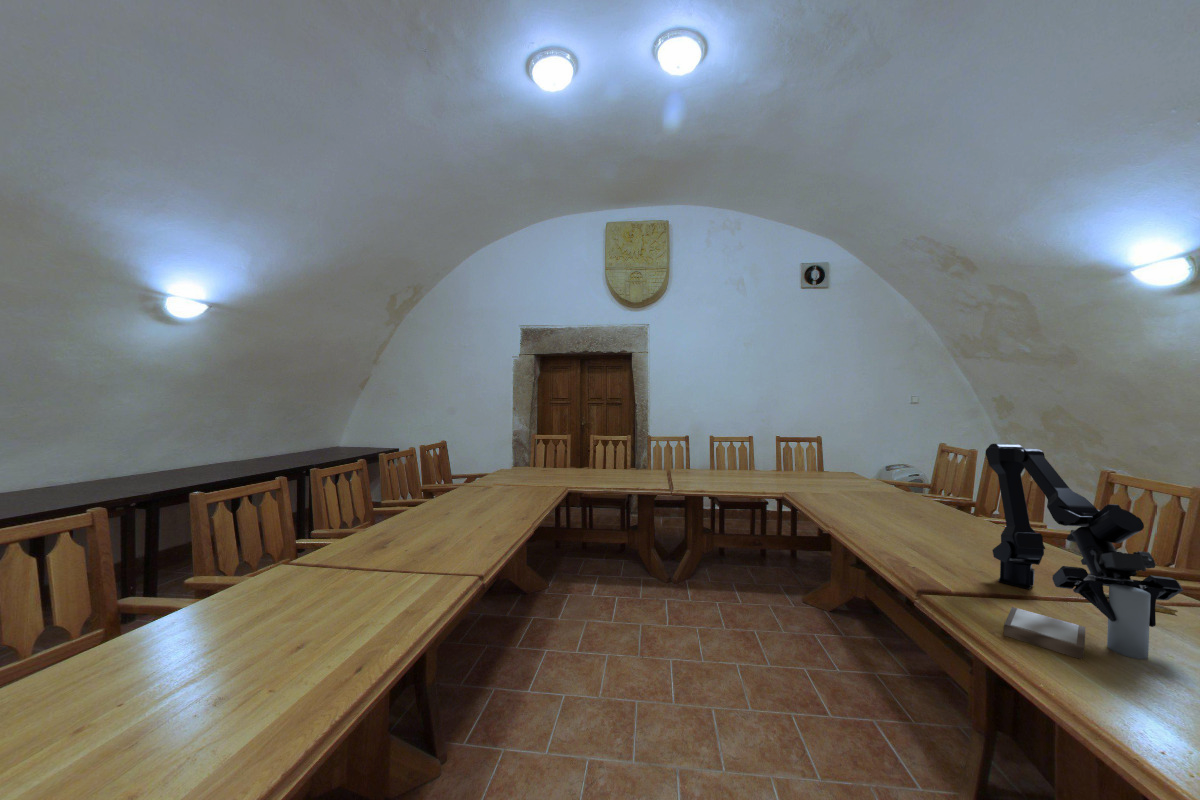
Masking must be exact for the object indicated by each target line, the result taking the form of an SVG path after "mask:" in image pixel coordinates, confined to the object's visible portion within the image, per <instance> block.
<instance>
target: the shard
mask: <svg viewBox="0 0 1200 800" xmlns="http://www.w3.org/2000/svg"><path fill="white" fill-rule="evenodd" d="M1103 591H1104V594H1105V596H1106V598H1108V597H1109V590H1103ZM1155 612H1159V613H1164V614H1165V613H1166V614H1170V615H1171V614H1173V615H1175V614H1176V613H1177V612H1179V611H1178V610H1177V609H1173V608H1171V607H1167V606H1164V605H1162V604H1159V603H1157V602H1156V604H1155Z"/></svg>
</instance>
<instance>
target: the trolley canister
mask: <svg viewBox="0 0 1200 800" xmlns="http://www.w3.org/2000/svg"><path fill="white" fill-rule="evenodd" d="M1108 591H1109V598H1108V602H1109V604H1110V606H1111V608H1112V610H1113V612H1114V614H1115V617H1116V621H1114V622H1113V621H1111V620H1110V619H1108V618H1107V636H1106V638H1107V639H1106V641H1107V642H1106V646H1108V647H1107V648H1108V649H1110V651H1112V652H1115V653H1117V654H1119V655H1122V656H1125V657H1128V658H1132V659H1137V660H1147V659H1149V652H1150V651H1149V650H1150V649H1149V647H1150V646H1149V645H1150V626H1149V624H1150V598H1151V594H1150V593H1148V592H1146V591H1144V590H1141V589H1138V588H1135V587H1131V586H1126V585H1119V584H1110V585H1109V586H1108Z"/></svg>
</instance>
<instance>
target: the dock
mask: <svg viewBox="0 0 1200 800" xmlns="http://www.w3.org/2000/svg"><path fill="white" fill-rule="evenodd" d="M1003 636H1005V637H1008V638H1011V639H1015V640H1018V641H1021V642H1024V643H1027V644H1031V645H1034V646H1037V647H1040V648H1044V649H1045V650H1050V651H1053V652H1056V653H1059V654H1063V655H1065V654H1066V655H1067V656H1068V657H1072V658H1075V657H1076V659H1078V658H1079V659H1078V660H1081V659H1082V661H1083V660H1084V654H1085V642H1086V626H1083V625H1079V624H1075V623H1072V622H1069V621H1066V620H1065V621H1064V620H1062V619H1058V618H1055V617H1050V616H1047V615H1043V614H1040V613H1036V612H1032V611H1029V610H1025V609H1021V608H1018V607H1014V606H1011V608H1010V610H1009V613H1008V615H1007V617H1006V619H1005V621H1004V624H1003Z"/></svg>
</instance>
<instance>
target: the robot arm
mask: <svg viewBox="0 0 1200 800" xmlns="http://www.w3.org/2000/svg"><path fill="white" fill-rule="evenodd" d="M985 456H986V459H987V462H988V466H989V467H990V468H991V469H992V470H993V471H994V472H995V473H996V474H997V478H998V482H999V483H998V484H999V490H1000V495H1001V502H1002V509H1003V513H1004V519H1005V525H1006V526H1005V527H1004V529H1003V531H1002V532H1001V534H1000V543H999V544H998V545H996V546H995V547H994V548H993V549H992V555H993V558H994V559H997V560H998V561H1000V564H999V565H1000V566H999V579H998V582H999V583H1001V584H1002V583H1003V584H1006V585H1010V586H1013V587H1017V588H1018V587H1019V588H1022V589H1027V590H1030V589H1031V588H1032V587H1033V586H1034V584H1035V568H1032V567H1033V565H1037V566H1040V564H1041V561H1042V559H1043V556H1044V555H1045V550H1046V546H1045V544H1044V541H1043V539H1044V537H1043V535H1042V534H1041V533H1040V532H1036V531H1035V530H1034V529H1033V528H1032V527H1031V523H1030V517H1029V512H1028V505H1027V503H1026V502H1027V501H1026V496H1025V492H1024V491H1025V489H1024V485H1023V479H1022V472H1023V471H1024V469H1025V471H1026V472H1027V473H1028V474H1029V476H1030V477H1031V478H1032V479H1033V481H1034V483H1035V484H1036V485H1037V486H1038V488H1039V489H1040V490H1041V491H1042V493H1043V494H1044V496H1045V497H1046V499H1047V504H1046V508H1047V510H1048V512H1049V514H1050V515H1051V517H1052V519H1053V521H1054V522H1056V523H1057V524H1058V525H1061V526H1064V527H1066V526H1067V527H1077V528H1076V529H1071V530H1070V532H1069V534H1067V536H1066V540H1067V541H1069V542H1075V543H1076V545H1077V547H1078V549H1079V551H1080V554H1081V556H1082V559H1081V560H1080V562H1081V564H1082V565H1083V566H1086V567H1087V569H1088V570H1086V569H1085V568H1084V567H1077V566H1069V565H1062V566H1061V567H1060V568H1059V569H1058V570H1057V571H1056V572H1055V573H1054V574H1053V575H1052V581H1053V585H1054V586H1055V587H1056V588H1058V589H1059V588H1061V589H1066V590H1072V591H1073V593H1075V594H1079V595H1080V596H1082V597H1083V598H1084V599H1085V600H1087V601H1088V602H1089V603H1091V605H1093V606H1094V607H1095V608H1096V609H1097V610H1098V611H1100V612H1101V613H1102V614H1103V615H1104V616H1106V618H1107V620H1108V619H1110V620H1111V621H1113V622H1114V621H1116V617H1115V614H1114V612H1113V610H1112V608H1111V606H1110V604H1109V599H1108V597H1106V596H1105V594H1104V591H1105V590H1104V586H1105V587H1109V585H1110V584H1119V585H1126V586H1131V587H1135V588H1138V589H1141V590H1144V591H1146V592H1148V593H1150V594H1151V598H1150V624H1149V628H1154V627H1156V626H1157V625H1156V621H1157V620H1156V611H1155V604H1156V603H1157V600H1158V601H1169V600H1170V599H1172V598H1174V597H1175V596H1177V595H1178V594H1180V593H1181V592H1184V589H1183V587H1182V586H1181V584H1180V582H1179V581H1178V580H1176V579H1175V578H1174V577H1167V576H1166V577H1165V576H1159V575H1158V576H1157V575H1148V576H1147V577H1145V578H1144V579H1142V580H1138V579H1132V578H1131V577H1136V576H1137V575H1138V573H1137V572H1140V571H1142V572H1147V569H1148V570H1149V569H1154V568H1156V562H1155V559H1154V558H1153V556H1152V554H1151V553H1150V552H1148V551H1141V550H1140V551H1134V552H1133V553H1128V552H1123V551H1117V550H1116V548H1115V546H1114V544H1120V543H1123V542H1125V541H1126V540H1128V539H1130V538H1131V537H1133V536H1134V535H1137V534H1138V533H1140V532H1141V531H1143V529H1144V528H1145V527H1144V525H1145V524H1144V522H1143V520H1142V519H1141V518H1140V517H1138V516H1136V515H1135V514H1134V513H1132V512H1130V511H1129V510H1126V509H1123V508H1122V507H1121V506H1120V505H1119V504H1114V503H1113V504H1111V503H1110V504H1109V503H1108V504H1106V505H1104V506H1103V508H1102V509H1098V508H1097V507H1096V506H1095V505H1094V504H1093V503H1091V501H1089V500H1088V499H1087V498H1086V497H1085V496H1083V495H1081V494H1079V493H1078V492H1075V491H1073V490H1072V489H1071V488H1070V487H1069V486H1068V484H1067V483H1066V482H1065V480H1064V479H1063V478H1062V477H1061V476H1060V474H1059V473H1058V472H1057V471H1056V469H1055V468H1054V466H1052V464H1051V463H1050V462H1049V461H1048V460H1047V458H1046V456H1045V452H1044V451H1042V449H1039V448H1028V447H1024V446H1022V445H1020V444H1018V443H991V444H989V445H988V447H987V448H986V449H985ZM1088 571H1089V573H1088Z"/></svg>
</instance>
